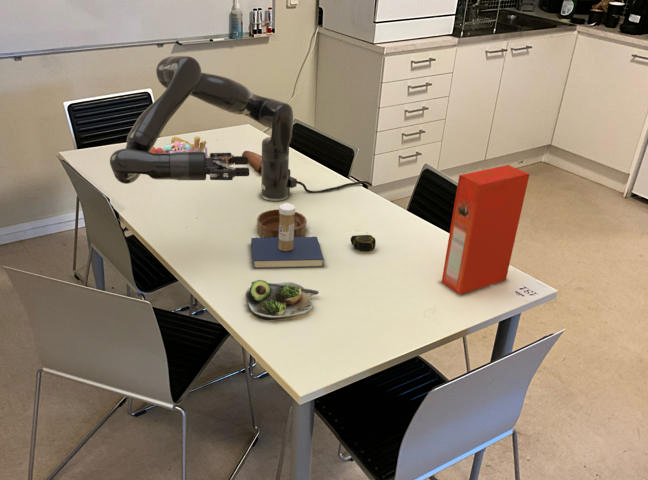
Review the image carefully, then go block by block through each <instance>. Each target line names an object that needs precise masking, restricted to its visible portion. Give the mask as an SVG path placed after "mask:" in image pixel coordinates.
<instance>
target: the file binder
mask: <svg viewBox="0 0 648 480" xmlns="http://www.w3.org/2000/svg"><path fill="white" fill-rule="evenodd" d="M529 179H530V174H529V173H528V172H526V171H523V170H521V169H519V168H517V167H514V166H512V165H509V164H506V165H500V166H496V167H491V168H485V169H482V170H477V171H472V172H467V173H463V174H459V175H458V181H457V186H456V193H455V199H454V205H453V210H452V217H451V221H450V222H451V223H450V227H449V234H448V240H447V247H446V253H445V258H444V263H443V264H444V265H443V271H442V275H441V277H442V278H441V283H442V284H443V285H444V286H446V287H447V288H448V289H450V290H452V291H454V293H456V294H458V295H463V294H466V293H467V294H468V293H470V292H473V291H476V290H479V289H482V288H485V287H489V286H491V285H496V284H498V283H501V282H504V281H507V277H508V272H509V268H510V262H511V260H512V259H511V258H512V254H513V251H514V246H515V241H516V237H517V232H518V228H519V223H520V219H521V214H522V211H523V206H524V200H525V195H526V191H527V187H528V183H529Z"/></svg>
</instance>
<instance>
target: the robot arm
mask: <svg viewBox="0 0 648 480" xmlns="http://www.w3.org/2000/svg"><path fill="white" fill-rule="evenodd" d="M155 74H156V77H157V81H158V82H159V83H160V85H161V86H162V87H164V89H165V90H164V92H163V93H162V94H161V95H160V96H159V97H158V98H157V99H156V100H155V101H153V102H152V103H151V104H150V105H149V106H148V107H147V108H146V109H145V110H144V111H143V112H142V113H141V114H140V115H139V116H138V117H137V119H136V121H135V123H134V124H133V126H132V127H131V129H130V131H129V132H128V134H127V136H126V145H125V148H119V149H118V150H115V151H114V152H112V154H111V155H110V157H109V165H110V168H111V171H112V173H113V176H114V177H115V179H116V180H117V181H118V182H120V183H122V184H126V185H128V184H132V183H134V182H135V181H137V180H138V179H139V178H140V176H141V175H145V176H148V177H149V178H150V179H153V180H159V181H161V180H165V181H168V180H169V181H170V180H172V181H173V180H174V181H206V180H207V175H208V176H209V180H210V181H233V179H234V178H236V177H249V176H250V168H249V167H244V166H246V165H249V163H248V157H247V156H242V155H234V154H232V152H210V153H209V157H208V158H206V154H205V151H204V152H175V153H151V152H150V150H151V149H152V147H155V144H156V143H157V141H158V139H159V138H160V135H161V134H162V133H163V131H164V130H165V127H166V126H167V125H168V123H169V121H170V120H171V119H172V118H173V116H174V115H175V114H176V113H177V112H178V110H179V109H180V108H181V106H182V105H183V104H184V102H186V100H187V99H188V98H189V97H190V96H191V97H194V98H196V99H198V100H200V101H202V102H204V103H207V104H209V105H212V106H214V107H216V108H217V109H220V110H223V111H225V112H228V113H229V114H234V115H237V116H238V115H239V116H246V117H247V118H249V119H251V120H253V121H254V122H257V123H258V124H260V125H261V126H263V127H265V128H268V129H271V135H270V136H268V137H265V138H263V139H262V141H261V156H262V175H261V183H260V188H261V190H260V191H261V192H260V196H261V198H262V199H263V200H266V201H268V202H281V201H284V200H287V199H288V197H290V196H291V189H293V188H296V187H297V185H300V186H302V188H303V190H304V191H305V192H306V193H309V194H318V193H319V194H320V193H327V192H330V191H336V190H340V189H342V188H345V187H351V186H356V185H361V184H362V185H363V184H365V185H368V186H369V187H373V184H372V183H371V182H369V181H367V180H361V181H355V182H347V183H344V184H341V185H338V186H335V187H329V188H324V189H321V190H310V189H308V188H307V187H306V185H305V184H304V183H303V182H302V181H299V180H298V179H297V178H295V177H293V176H291V169H290V168H289V163H290V144H291V142H292V137H293V126H294V111H293V108H292V106H291V105H290V104H289V103H287V102H284V101H280V100H277V99H275V98H270V97H266V96H261V95H258V94H255V93H254V92H252V91H251V90H250V89H249V88H248V87H247V86H245V85H244V84H242V83H240V82H238V81H236V80H234V79H232V78H229V77H226V76H222V75H217V74H213V73H208V72H202V67H201V65H200V63H199V61H198V60H197V59H196V58H194V57H192V56H187V55H172V56H171V55H170V56H167V57H164V58H163V59H161V60H160V61H159V62H158V63H157V65H156V68H155ZM233 165H234V166H241V165H242V166H243V167H234V166H233Z"/></svg>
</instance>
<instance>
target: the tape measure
mask: <svg viewBox="0 0 648 480" xmlns="http://www.w3.org/2000/svg"><path fill="white" fill-rule="evenodd" d="M350 243H351V246H353V248H354V249H355V250H356V251H358V252H361V253H363V252H364V253H368V252H373V251H374V250H375V248H376V244H377V243H376V238H375V237H374V236H372V235H371V234H359V235H358V234H357V235H351V237H350Z"/></svg>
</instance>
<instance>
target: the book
mask: <svg viewBox="0 0 648 480" xmlns="http://www.w3.org/2000/svg"><path fill="white" fill-rule="evenodd" d="M278 246H279V237H270V238H264V237H251V238H250V247H251V255H252V257H251V258H252V265H253V269H288V268H289V269H291V268H292V269H295V268H296V269H297V268H324V265H323V261H324V256H323V253H322V249H321V245H320V242H319V239H318V236H302V237H294V239H293V249H292V250H291V251H281V250H280V249H279V248H278Z"/></svg>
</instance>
